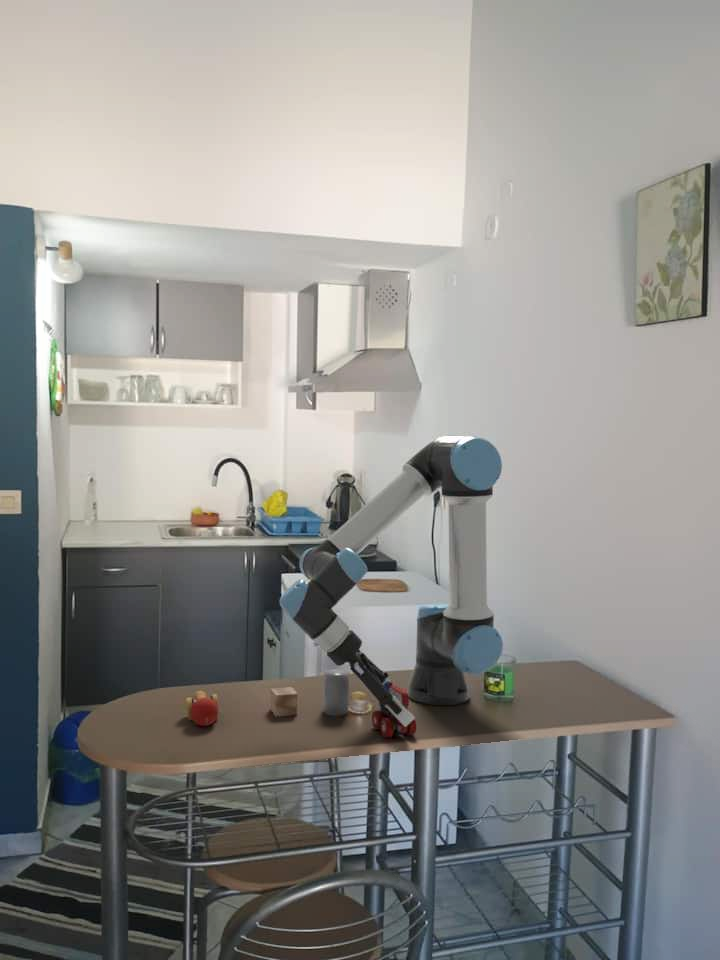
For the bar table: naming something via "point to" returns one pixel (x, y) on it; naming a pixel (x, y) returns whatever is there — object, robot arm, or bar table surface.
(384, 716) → the toy fire truck
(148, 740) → the bar table surface
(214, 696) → the kendama
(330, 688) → the light grey cylinder
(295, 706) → the light brown cube
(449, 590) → the robot arm
